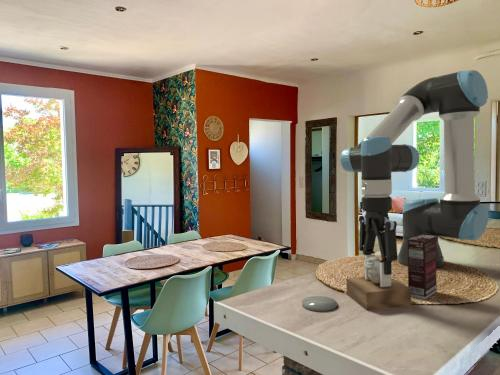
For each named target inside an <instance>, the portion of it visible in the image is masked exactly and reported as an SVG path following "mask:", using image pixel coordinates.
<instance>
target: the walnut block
mask: <svg viewBox="0 0 500 375" xmlns="http://www.w3.org/2000/svg"><path fill="white" fill-rule="evenodd" d="M346 296H348V297H349V298H350V299H351V300H352V301H354V302H355V303H356V304H358V305H359V306H360V307H362V308H363V309H364V310H366V311H379V310H388V309H395V308H396V309H397V308H398V309H399V308H406V307H412V297H411V288H409V287H408V285H405V284H404V283H402V282H400V281H398V280H396V279H394V278H392V277H391V286H388V287H380V284H376V283H374V282H372V281H371V280H370V279H365V276H360V277H349V278H346Z"/></svg>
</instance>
